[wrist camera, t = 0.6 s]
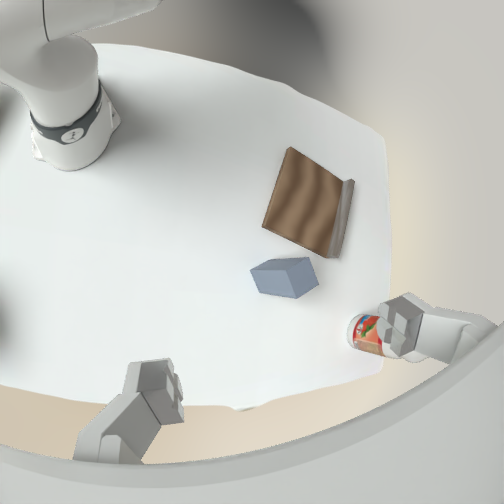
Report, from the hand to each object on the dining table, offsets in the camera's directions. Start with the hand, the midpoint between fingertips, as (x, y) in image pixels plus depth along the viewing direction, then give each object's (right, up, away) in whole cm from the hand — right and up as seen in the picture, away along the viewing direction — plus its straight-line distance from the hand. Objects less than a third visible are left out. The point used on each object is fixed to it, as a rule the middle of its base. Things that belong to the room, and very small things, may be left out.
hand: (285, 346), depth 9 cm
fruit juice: (+27, -18, +57) cm, 66 cm away
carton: (+1, -1, +46) cm, 46 cm away
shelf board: (+11, +15, +52) cm, 55 cm away
